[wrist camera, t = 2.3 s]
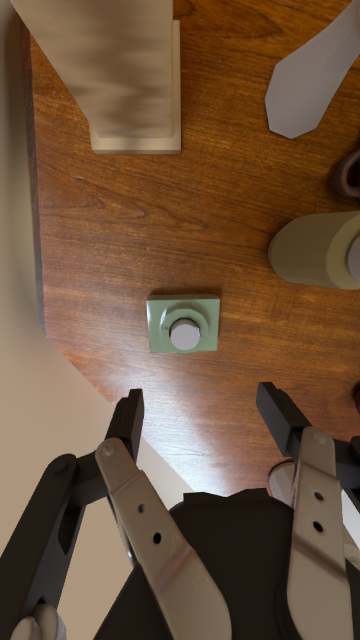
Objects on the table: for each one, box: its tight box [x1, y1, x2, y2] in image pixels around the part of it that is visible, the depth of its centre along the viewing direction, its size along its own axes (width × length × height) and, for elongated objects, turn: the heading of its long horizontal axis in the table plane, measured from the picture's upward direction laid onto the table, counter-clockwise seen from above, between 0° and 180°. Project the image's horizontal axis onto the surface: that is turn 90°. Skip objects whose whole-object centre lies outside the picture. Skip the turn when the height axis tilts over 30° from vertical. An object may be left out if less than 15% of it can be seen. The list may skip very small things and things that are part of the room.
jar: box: [269, 462, 360, 571], centre depth 37 cm, size 10×10×18 cm
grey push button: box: [171, 319, 199, 350], centre depth 25 cm, size 4×4×2 cm
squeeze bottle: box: [267, 211, 360, 290], centre depth 19 cm, size 8×8×18 cm
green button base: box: [146, 294, 220, 354], centre depth 28 cm, size 10×8×5 cm
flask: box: [265, 0, 360, 139], centre depth 17 cm, size 7×7×10 cm
